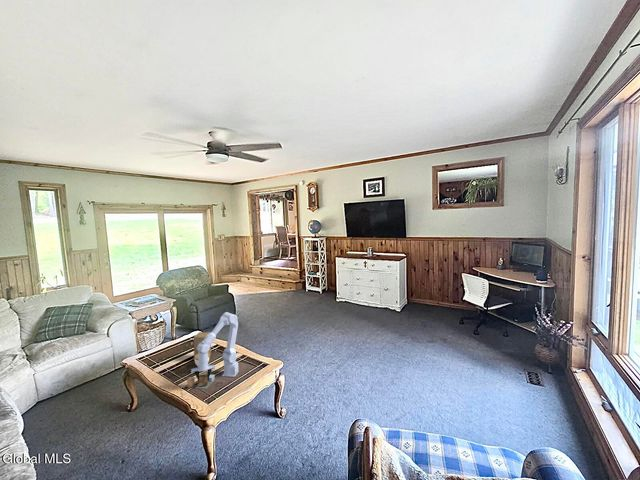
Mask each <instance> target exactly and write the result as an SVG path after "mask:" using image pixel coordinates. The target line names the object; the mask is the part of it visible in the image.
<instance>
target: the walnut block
mask: <svg viewBox="0 0 640 480" xmlns="http://www.w3.org/2000/svg"><path fill="white" fill-rule="evenodd" d="M207 378H208V373H205V374H199V383H198V384H199V386H203V385H208V380H207Z"/></svg>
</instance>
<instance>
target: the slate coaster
mask: <svg viewBox="0 0 640 480" xmlns="http://www.w3.org/2000/svg"><path fill="white" fill-rule="evenodd" d="M212 383H213V381H212V382H208V385H203V386H199V383H198V384H197V385H196V386H194V389H198V390H201V389H202V390H207V389H208V388H209V387H210V386H211V384H212Z"/></svg>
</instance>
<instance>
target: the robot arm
mask: <svg viewBox="0 0 640 480" xmlns="http://www.w3.org/2000/svg"><path fill="white" fill-rule="evenodd" d="M238 318H239V317H238V316H237V315H236V314H234V313H230V312H228V311H226V312H224V313H223V314H222V315H221V316H220V318H219V321H218V323H217V324H216V325H215V327H214V328H213V330H212V331H211V332H210V333H209V334H207V335H206V338H205V339H204V340H203V341H202V343H200V344H199V345H198V346H197V351H198V357H199V367H198V366H197V367H194V368H191V370H190V371H191V372H190V373H191V374H193V373H194V375H195V377H196V379H197V382H198V384H199V376H200V372H205V371H206V372H207V373H206V374H208V378H207V380H208V381H209V376H210V375H212V370H216V365H209V362H208V351H209V348H210V345H211V346H212V344H213V342H214V341H215V340H216V338H217V335H218V333H219V332H221V330H222V329H223V327H225V326H228V325H229V331H228V337H227V342H226V343H227V344H226V348H224V349H223V353H222V355H221V358H222V359H223V373H222V375H221V377H228V378H229V377H230V378H231V377H234V378H235V377H236V376H237V374H238V373H239V362H238V361H237V351H236V349H235V345H236V341H237V335H238V328H239V322H238V320H239V319H238Z"/></svg>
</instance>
